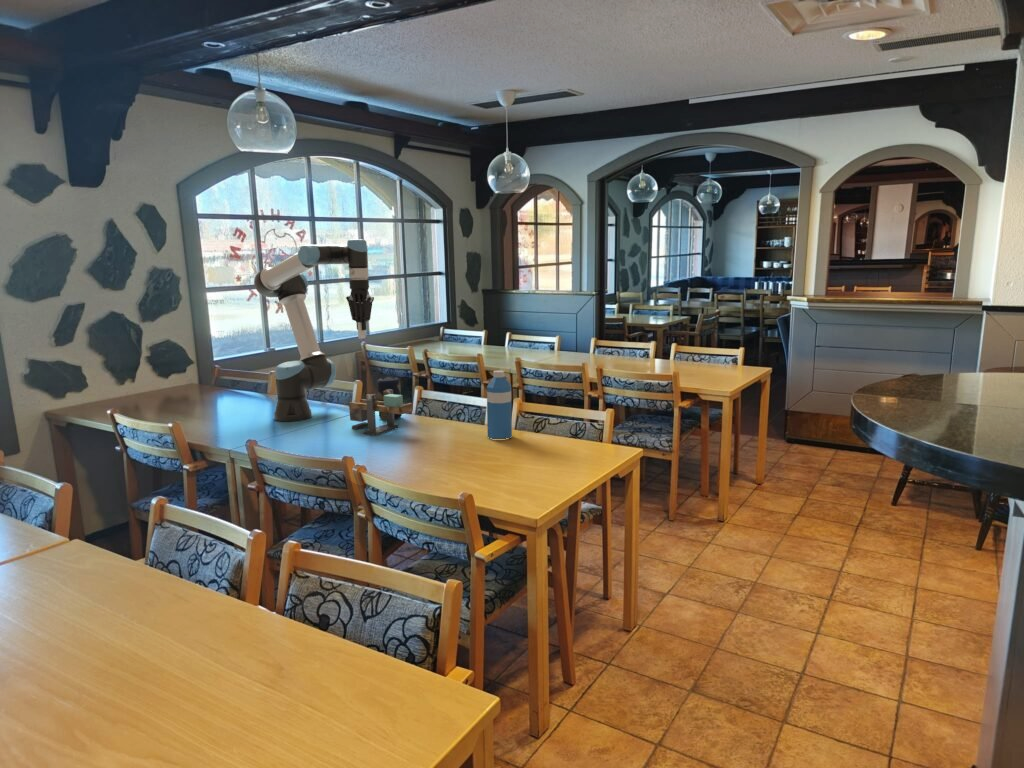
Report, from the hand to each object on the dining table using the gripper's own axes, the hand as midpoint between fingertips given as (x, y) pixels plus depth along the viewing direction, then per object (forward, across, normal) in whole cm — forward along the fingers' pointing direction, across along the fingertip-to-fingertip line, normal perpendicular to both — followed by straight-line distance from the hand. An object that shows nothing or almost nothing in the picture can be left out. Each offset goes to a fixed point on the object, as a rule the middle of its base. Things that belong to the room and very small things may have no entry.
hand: (362, 338), depth 274 cm
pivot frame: (+34, +16, -9) cm, 39 cm away
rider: (+25, +22, -9) cm, 35 cm away
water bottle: (+34, +62, +4) cm, 71 cm away
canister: (+35, +6, +8) cm, 36 cm away
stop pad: (+34, +5, -9) cm, 36 cm away
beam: (+31, +16, -9) cm, 36 cm away
